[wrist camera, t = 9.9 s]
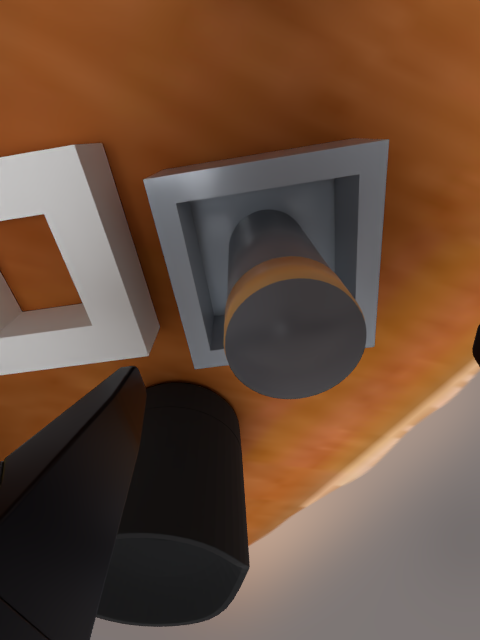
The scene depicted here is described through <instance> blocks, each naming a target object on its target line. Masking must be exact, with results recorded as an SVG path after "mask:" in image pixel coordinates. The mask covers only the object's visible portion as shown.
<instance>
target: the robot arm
mask: <svg viewBox="0 0 480 640" xmlns="http://www.w3.org/2000/svg"><path fill="white" fill-rule="evenodd" d="M473 356H474V358H475V360H476V361H477V363H478V365H479V366H480V325H479V326H478V329H477V333H476V337H475V340H474V344H473ZM146 396H147V394H146V388H145V385H144V383H143V380H142V377H141V375H140V372H139V370H138V368H137V367H135V366H129V367H122V368H120V369H118V370H117V371H116V372H114V373H113V374H112V375H111V376H109V377H108V378H107V379H105V380H104V381H103V382H102V383H100V384H99V385H98V386H97V387H95V388H94V389H93V390H91V391H90V392H89V393H88V394H86V395H85V396H84V397H83V398H81V399H80V400H79V401H77V402H76V403H75V404H74V405H72V406H71V407H70V408H69V409H67V410H66V411H65V412H63V413H62V414H61V415H60V416H58V417H57V418H56V419H55V420H53V421H52V422H51V423H49V424H48V425H47V426H46V427H44V428H43V429H42V430H41V431H39V432H38V433H37V434H35V435H34V436H33V437H32V438H30V439H29V440H28V441H27V442H25V443H24V444H23V445H21V446H20V447H19V448H18V449H16V450H15V451H14V452H13V453H11V454H10V455H9V456H7V457H6V458H5V459H4V461H1V462H0V640H90V637H91V633H92V629H93V625H94V622H95V618H96V614H97V610H98V606H99V602H100V598H101V594H102V591H103V587H104V583H105V579H106V575H107V571H108V567H109V563H110V560H111V556H112V552H113V548H114V544H115V540H116V536H117V533H118V529H119V525H120V521H121V517H122V513H123V509H124V505H125V502H126V498H127V494H128V490H129V486H130V482H131V478H132V474H133V471H134V467H135V463H136V459H137V455H138V451H139V446H140V440H141V433H142V426H143V418H144V411H145V404H146Z"/></svg>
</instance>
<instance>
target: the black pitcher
mask: <svg viewBox="0 0 480 640" xmlns="http://www.w3.org/2000/svg"><path fill="white" fill-rule="evenodd" d="M146 394H147V396H146V404H145V411H144V418H143V426H142V433H141V440H140V446H139V451H138V455H137V459H136V463H135V467H134V471H133V474H132V478H131V482H130V486H129V490H128V494H127V498H126V502H125V505H124V509H123V513H122V517H121V521H120V525H119V529H118V533H117V536H116V540H115V544H114V548H113V552H112V556H111V560H110V563H109V567H108V571H107V575H106V579H105V583H104V587H103V591H102V594H101V598H100V602H99V606H98V610H97V614H96V617H97V618H100V619H105V620H108V621H113V622H117V623H122V624H129V625H139V626H154V627H156V626H157V627H158V626H159V627H162V626H179V625H187V624H193V623H199V622H202V621H205V620H209V619H211V618H213V617H215V616H217V615H219V614H220V613H221V612H222V611H224V610H225V609H226V608H227V607H228V605H229V604H230V603H231V602H232V600H233V599H234V597H235V596H236V594H237V592H238V591H239V589H240V587H241V585H242V582H243V580H244V578H245V576H246V574H247V572H248V570H249V552H248V536H247V522H246V507H245V492H244V478H243V464H242V452H241V439H240V429H239V423H238V419H237V416H236V414H235V412H234V411H233V409H232V408H231V406H230V405H229V404H228V403H227V402H226V401H225V400H224V399H222V398H221V397H220V396H218V395H217V394H216V393H214V392H212V391H210V390H208V389H206V388H203V387H200V386H197V385H193V384H188V383H165V384H160V385H156V386H153V387H150V388H147V389H146Z"/></svg>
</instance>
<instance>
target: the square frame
mask: <svg viewBox="0 0 480 640" xmlns="http://www.w3.org/2000/svg"><path fill="white" fill-rule="evenodd" d="M41 214H44V215H45V217H46V220H47V222H48V224H49V227H50V229H51V231H52V234H53V236H54V238H55V240H56V243H57V245H58V247H59V250H60V252H61V254H62V257H63V259H64V261H65V264H66V266H67V268H68V270H69V273H70V275H71V277H72V280H73V282H74V284H75V287H76V289H77V291H78V294H79V296H80V298H81V300H82V304H75V305H68V306H61V307H54V308H47V309H40V310H33V311H26V312H22V310H21V309H20V307H19V305H18V303H17V301H16V299H15V298H14V296H13V294H12V292H11V290H10V288H9V287H8V285H7V283H6V281H5V279H4V277H3V276H2V274H1V272H0V375H6V374H14V373H21V372H29V371H37V370H44V369H52V368H60V367H68V366H75V365H83V364H91V363H98V362H106V361H114V360H121V359H129V358H137V357H145V356H149V354H150V351H151V349H152V346H153V344H154V341H155V338H156V336H157V333H158V331H159V328H160V326H159V322H158V319H157V316H156V313H155V310H154V306H153V303H152V300H151V297H150V294H149V290H148V287H147V284H146V281H145V278H144V275H143V271H142V268H141V265H140V262H139V259H138V255H137V252H136V249H135V246H134V243H133V240H132V236H131V233H130V230H129V227H128V224H127V220H126V217H125V214H124V211H123V208H122V205H121V201H120V198H119V195H118V192H117V189H116V185H115V182H114V179H113V176H112V173H111V169H110V166H109V163H108V160H107V157H106V154H105V150H104V147H103V144H102V143H94V144H77V145H70V146H64V147H58V148H52V149H46V150H41V151H35V152H29V153H23V154H17V155H12V156H6V157H0V221H3V220H9V219H16V218H22V217H28V216H34V215H41Z"/></svg>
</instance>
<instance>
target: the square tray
mask: <svg viewBox="0 0 480 640" xmlns="http://www.w3.org/2000/svg"><path fill="white" fill-rule="evenodd" d="M388 148H389V139H361V138H352V139H346V140H340V141H334V142H328V143H322V144H316V145H310V146H304V147H298V148H291V149H285V150H279V151H273V152H267V153H261V154H255V155H249V156H243V157H237V158H231V159H225V160H219V161H213V162H207V163H201V164H194V165H188V166H182V167H176V168H170V169H164V170H162V171H160V172H158V173H156V174H154V175H151V176H149V177H147V178H145V179H143V181H144V185H145V189H146V192H147V196H148V200H149V203H150V207H151V211H152V214H153V218H154V222H155V225H156V229H157V233H158V236H159V240H160V244H161V247H162V251H163V255H164V258H165V262H166V266H167V269H168V273H169V277H170V280H171V284H172V288H173V291H174V295H175V299H176V302H177V306H178V310H179V313H180V317H181V321H182V324H183V328H184V332H185V335H186V339H187V343H188V346H189V350H190V354H191V357H192V361H193V365H194V368H195V369H201V368H209V367H217V366H225V365H229V364H228V361H227V359H226V355H225V352H224V320H225V307H226V302H227V285H228V260H229V242H230V238H231V235H232V233H233V231H234V229H235V227H236V226H237V225H238V223H239V222H240V221H241V220H242V219H244V218H245V217H246V216H248V215H250V214H251V213H254V212H256V211H260V210H267V209H270V210H278V211H281V212H284V213H286V214H288V215H289V216H291V217H292V218H293V219H294V220H295V221H296V222H297V223H298V224H299V225H300V227H301V228H302V230H303V231H304V232H305V234H306V235H307V237H308V238H309V239H310V241H311V242H312V244H313V245H314V246H315V248H316V249H317V251H318V252H319V253H320V255H321V256H322V258H323V259H324V260H325V262H326V263H327V265H328V266H329V267H330V269H331V270H332V271H333V272H334V273H335V274H336V275H337V276H338V277H339V279H340V280H341V281H342V283H343V284H344V285H345V287H346V288H347V289H348V291H349V292H350V293H351V295H352V296H353V298H354V299H355V300H356V302H357V303H358V305H359V307H360V308H361V310H362V313H363V316H364V319H365V324H366V331H367V338H366V345H365V348H368V347H374V345H375V331H376V317H377V303H378V289H379V275H380V261H381V246H382V232H383V218H384V204H385V190H386V176H387V162H388Z"/></svg>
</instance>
